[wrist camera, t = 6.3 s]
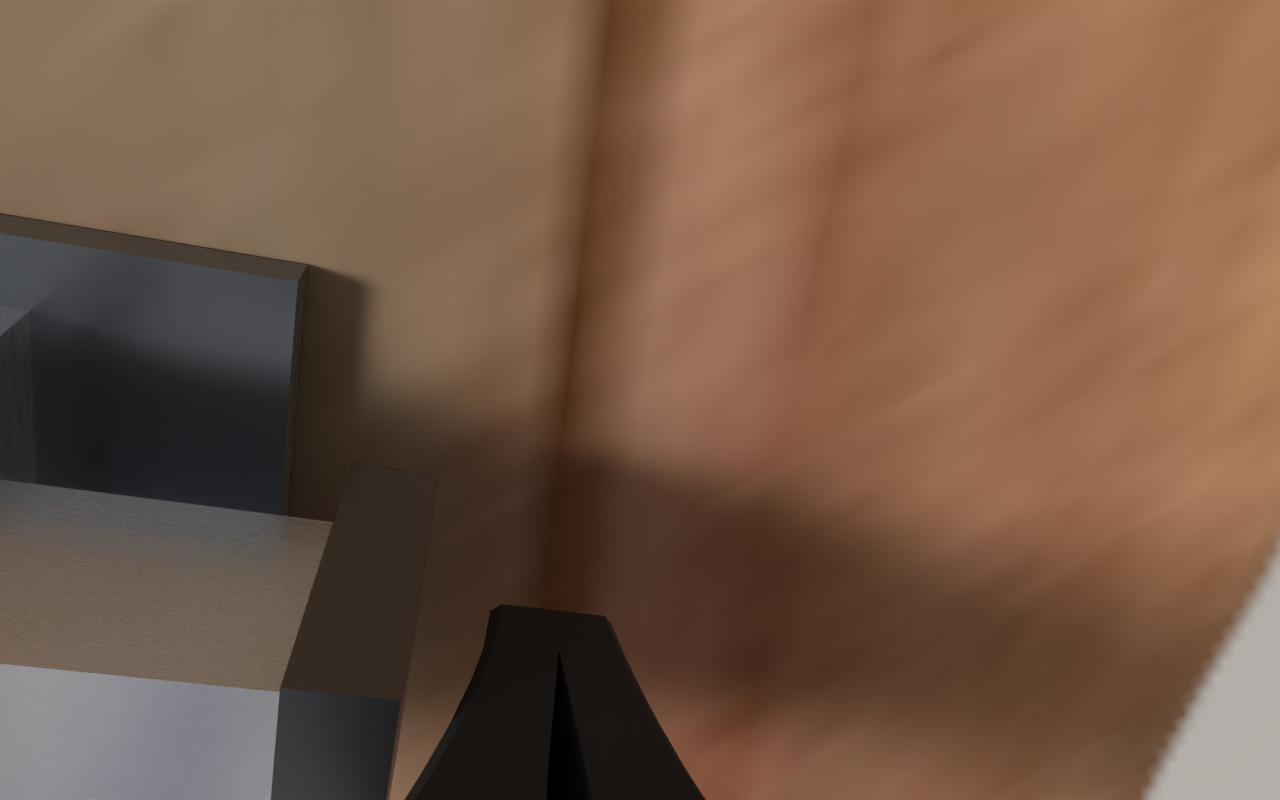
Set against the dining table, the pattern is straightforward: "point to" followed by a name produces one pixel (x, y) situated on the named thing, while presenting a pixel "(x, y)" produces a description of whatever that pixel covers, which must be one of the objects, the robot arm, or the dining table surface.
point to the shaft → (207, 643)
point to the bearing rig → (147, 367)
